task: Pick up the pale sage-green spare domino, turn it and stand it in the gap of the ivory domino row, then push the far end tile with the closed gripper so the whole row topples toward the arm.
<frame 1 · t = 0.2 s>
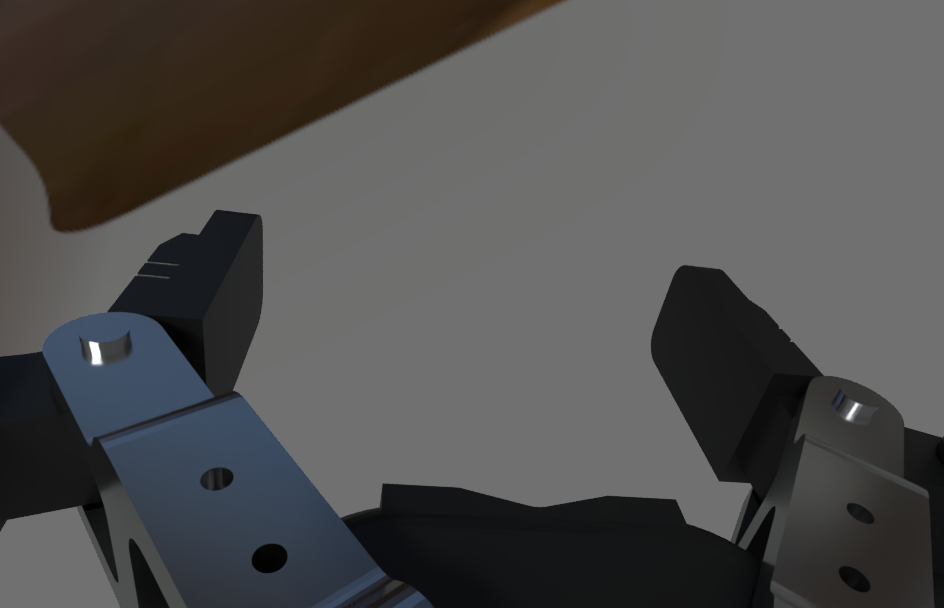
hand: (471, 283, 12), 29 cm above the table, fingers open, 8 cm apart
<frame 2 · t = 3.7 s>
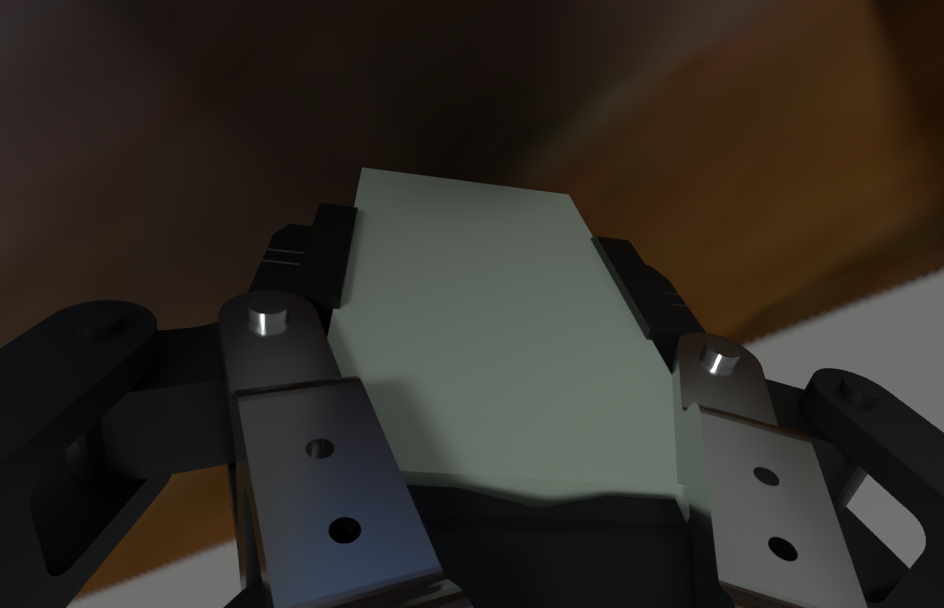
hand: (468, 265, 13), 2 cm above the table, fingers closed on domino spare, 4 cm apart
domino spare: (461, 217, 15), on the table, touching gripper
when the fingers open (3 cm above the table, at t = 8.8 s): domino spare stays where it is, on the table.
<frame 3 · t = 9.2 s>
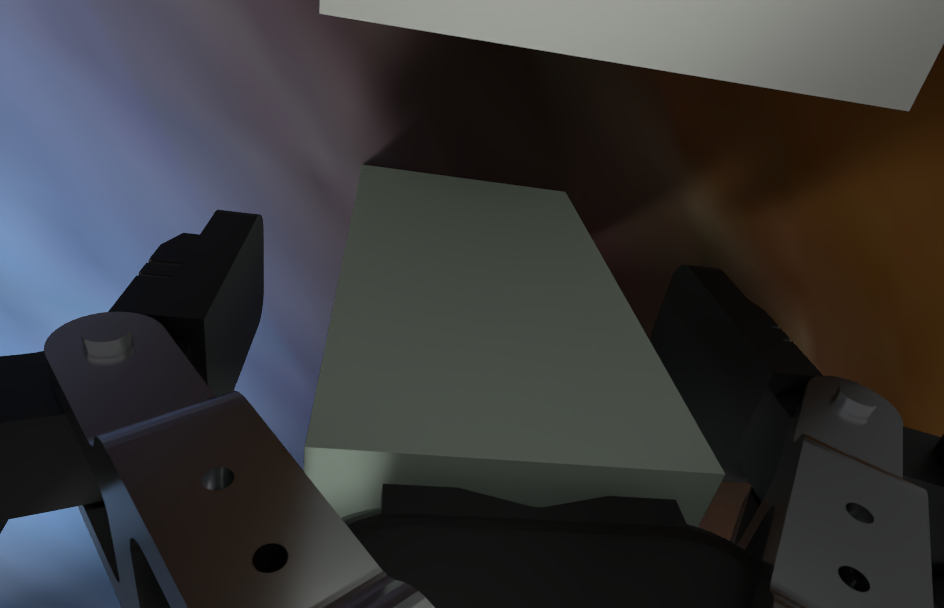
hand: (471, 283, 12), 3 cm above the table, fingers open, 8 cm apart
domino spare: (460, 214, 15), on the table
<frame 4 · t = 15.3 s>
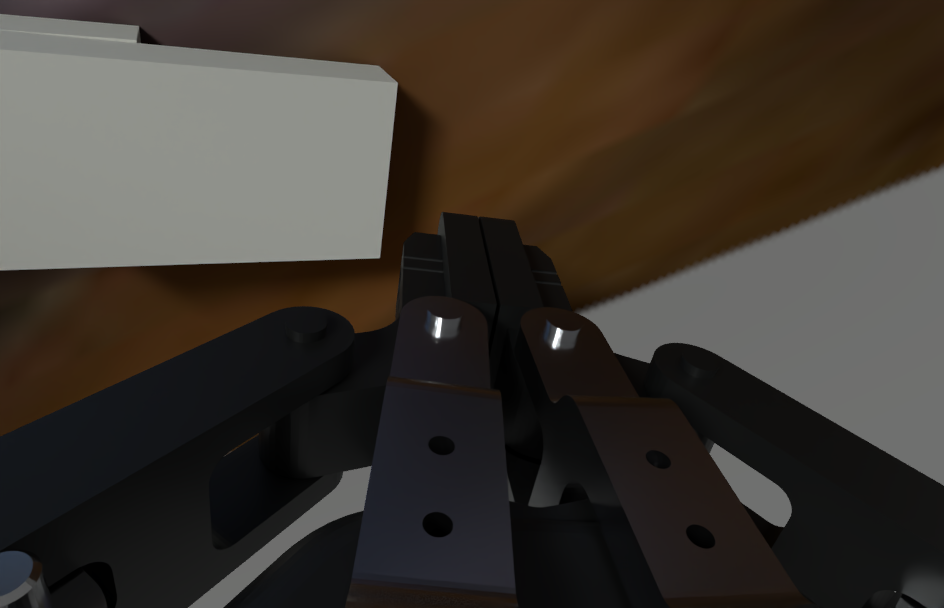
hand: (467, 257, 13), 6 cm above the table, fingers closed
domino 2: (149, 131, 16), point 1 cm above the table, tilted 72°, touching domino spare
domino 1: (379, 164, 17), point 1 cm above the table, tilted 72°
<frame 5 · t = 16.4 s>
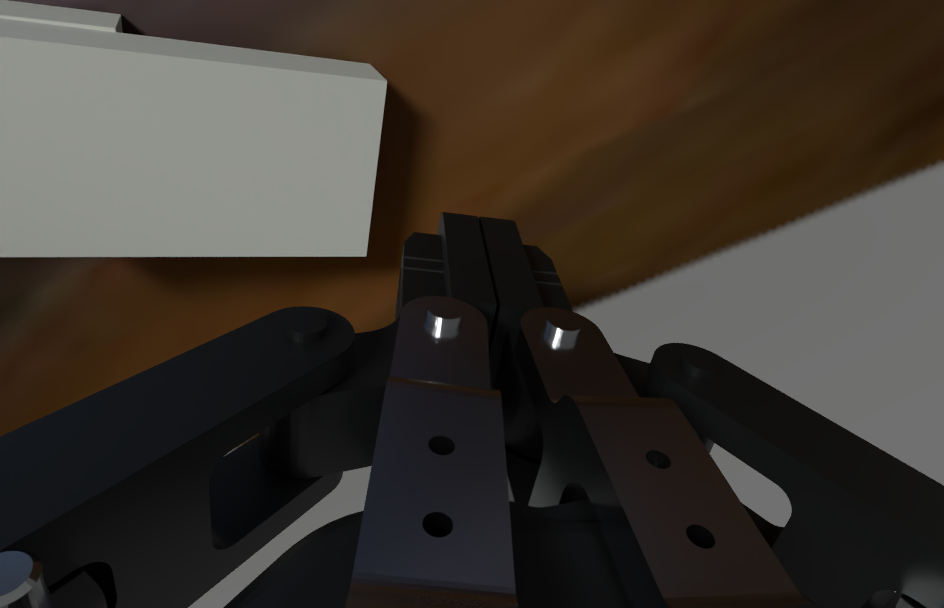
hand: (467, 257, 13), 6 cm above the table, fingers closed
domino 2: (127, 121, 16), point 1 cm above the table, tilted 73°, touching domino 1
domino 1: (368, 163, 17), point 1 cm above the table, tilted 73°, touching domino 2
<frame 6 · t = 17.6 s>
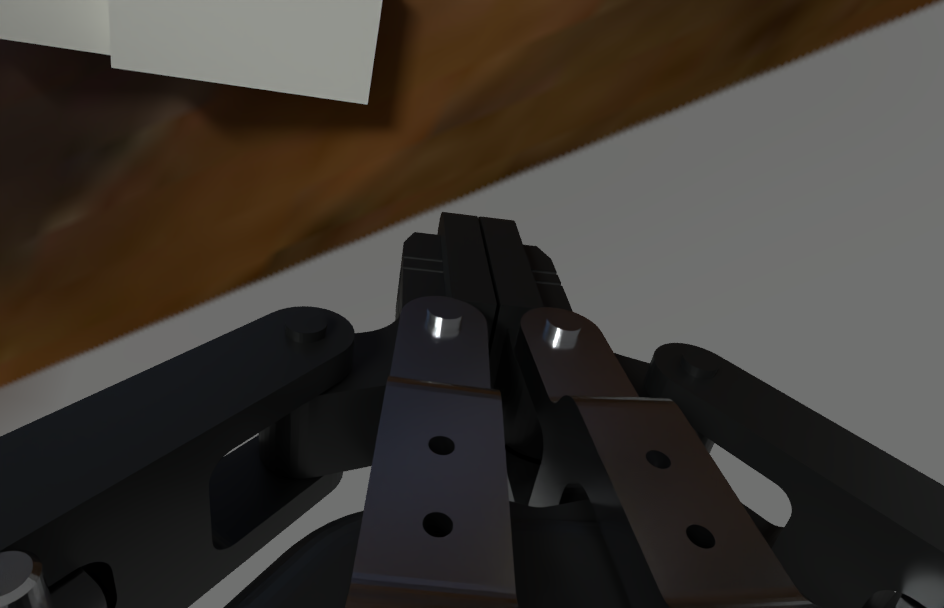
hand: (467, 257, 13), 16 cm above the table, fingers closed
domino 1: (371, 37, 25), point 1 cm above the table, tilted 73°, touching domino 2
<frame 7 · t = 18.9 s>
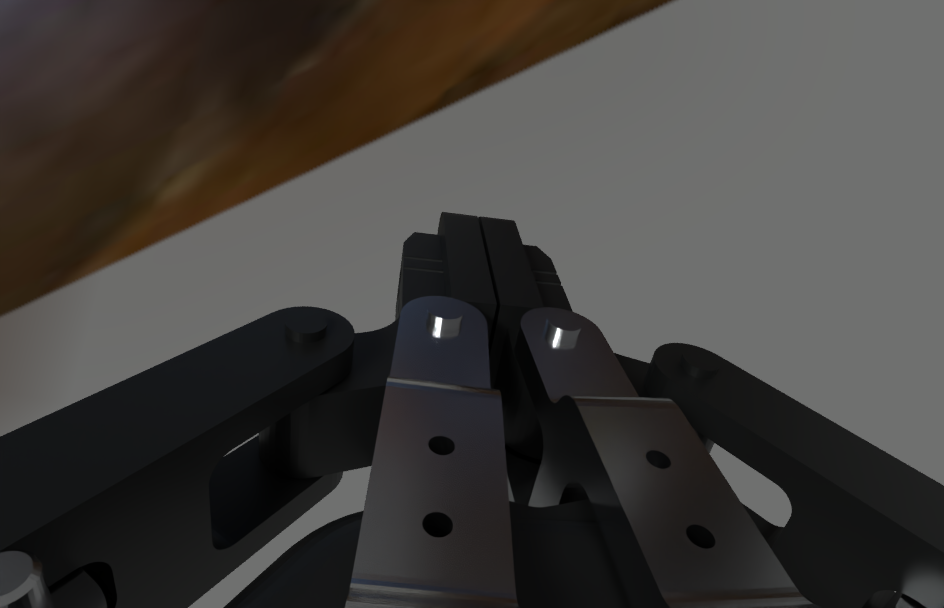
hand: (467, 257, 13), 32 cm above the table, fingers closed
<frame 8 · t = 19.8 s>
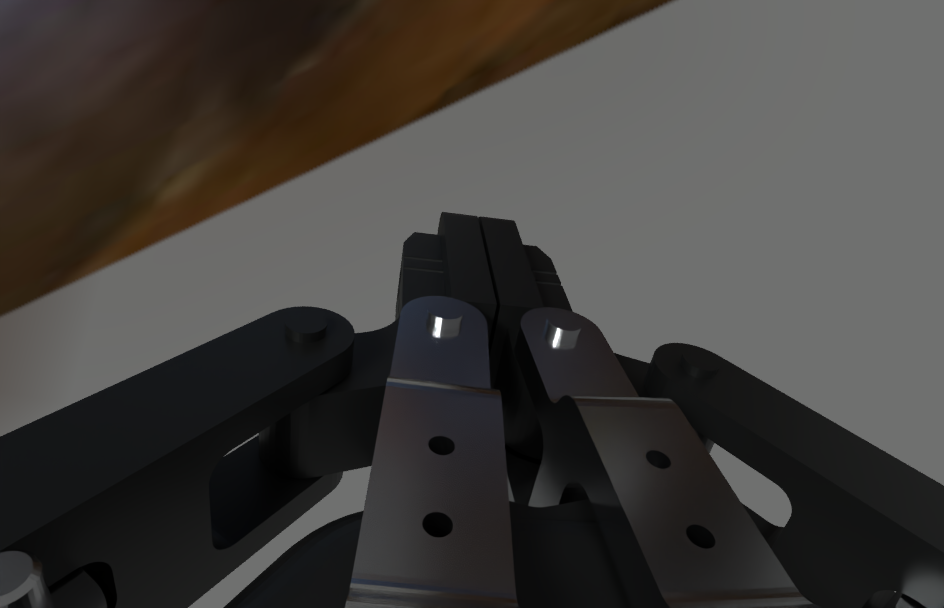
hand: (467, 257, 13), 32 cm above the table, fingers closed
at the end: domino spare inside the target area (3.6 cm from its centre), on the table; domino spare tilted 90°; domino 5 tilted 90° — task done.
